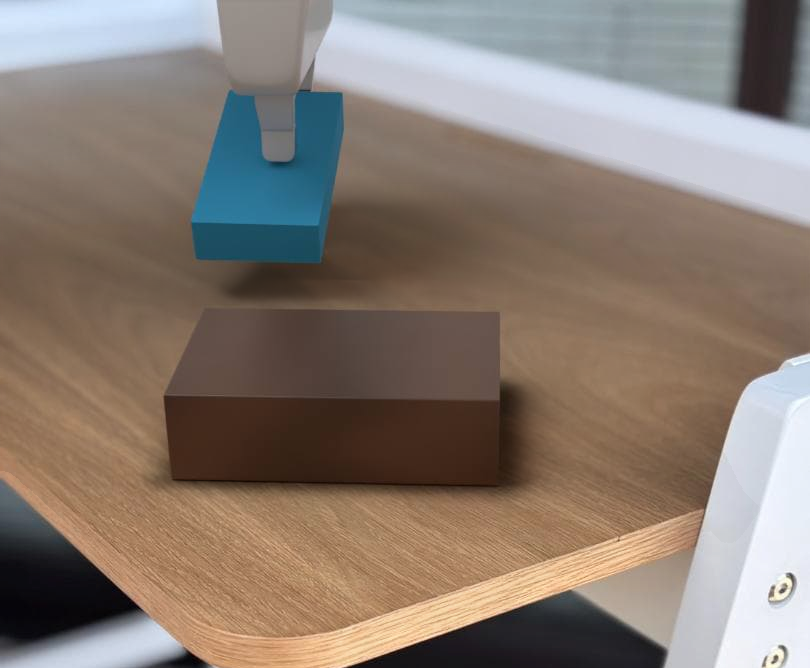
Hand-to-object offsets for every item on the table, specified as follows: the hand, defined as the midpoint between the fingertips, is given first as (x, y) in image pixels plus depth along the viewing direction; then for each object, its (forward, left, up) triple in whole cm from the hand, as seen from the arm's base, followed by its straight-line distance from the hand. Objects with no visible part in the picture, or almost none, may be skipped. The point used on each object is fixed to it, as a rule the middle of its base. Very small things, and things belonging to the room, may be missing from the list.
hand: (288, 138), depth 88 cm
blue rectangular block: (-1, -1, -5) cm, 5 cm away
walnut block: (+5, -26, -6) cm, 27 cm away
